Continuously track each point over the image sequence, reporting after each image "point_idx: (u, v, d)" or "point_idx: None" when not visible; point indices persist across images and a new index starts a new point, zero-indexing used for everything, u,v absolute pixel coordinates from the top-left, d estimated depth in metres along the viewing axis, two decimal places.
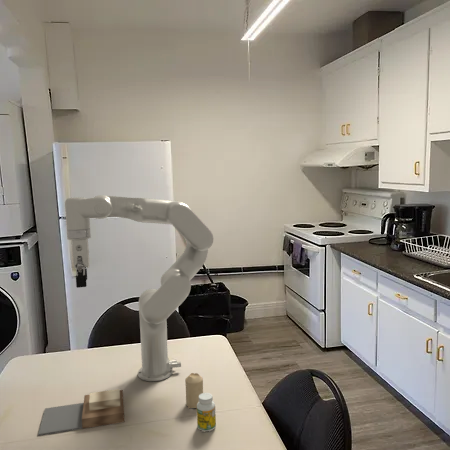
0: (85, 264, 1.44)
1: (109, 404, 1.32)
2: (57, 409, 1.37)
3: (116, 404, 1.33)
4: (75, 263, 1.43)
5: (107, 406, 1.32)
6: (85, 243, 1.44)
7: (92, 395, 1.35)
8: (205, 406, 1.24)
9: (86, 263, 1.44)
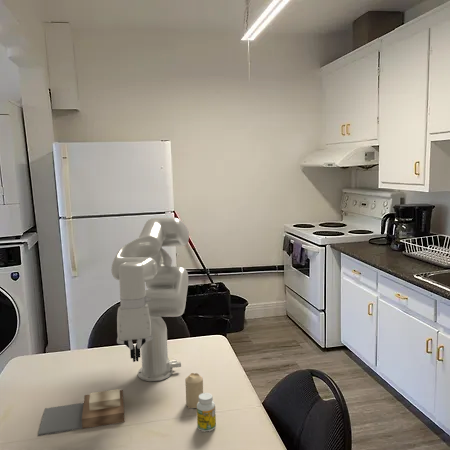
0: None
1: (109, 404, 1.32)
2: (57, 409, 1.37)
3: (116, 404, 1.33)
4: (146, 337, 1.34)
5: (107, 406, 1.32)
6: None
7: (92, 395, 1.35)
8: (205, 406, 1.24)
9: None
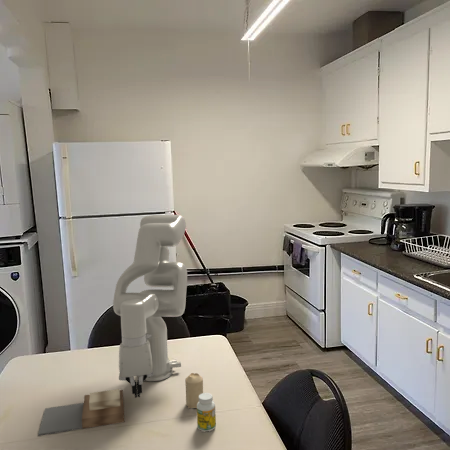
0: None
1: (109, 404, 1.32)
2: (57, 409, 1.37)
3: (116, 404, 1.33)
4: None
5: (107, 406, 1.32)
6: None
7: (92, 395, 1.35)
8: (205, 406, 1.24)
9: None
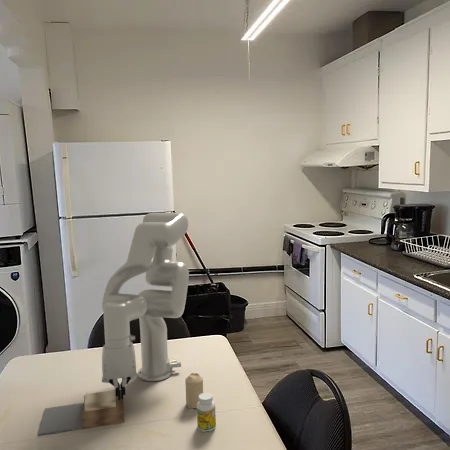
0: None
1: (104, 405, 1.32)
2: (57, 409, 1.37)
3: (112, 405, 1.32)
4: None
5: (102, 407, 1.32)
6: None
7: (87, 396, 1.35)
8: (205, 406, 1.24)
9: None
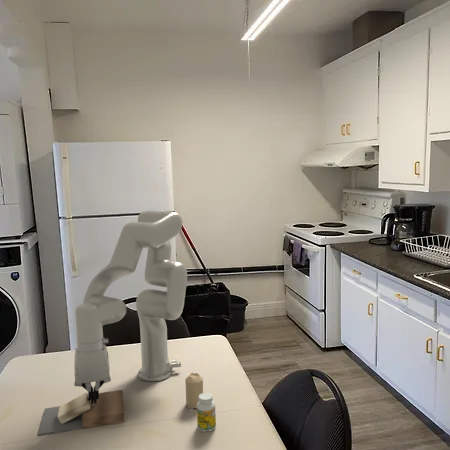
0: (109, 369, 1.36)
1: (78, 411, 1.30)
2: (57, 409, 1.37)
3: (85, 408, 1.30)
4: None
5: (77, 414, 1.30)
6: None
7: (61, 408, 1.32)
8: (205, 406, 1.24)
9: (109, 368, 1.36)
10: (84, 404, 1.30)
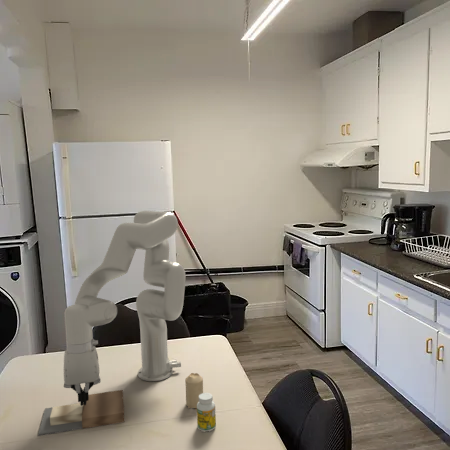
0: None
1: (70, 419, 1.29)
2: None
3: (78, 419, 1.30)
4: None
5: (69, 421, 1.29)
6: None
7: (54, 409, 1.32)
8: (205, 406, 1.24)
9: None
10: (79, 414, 1.30)
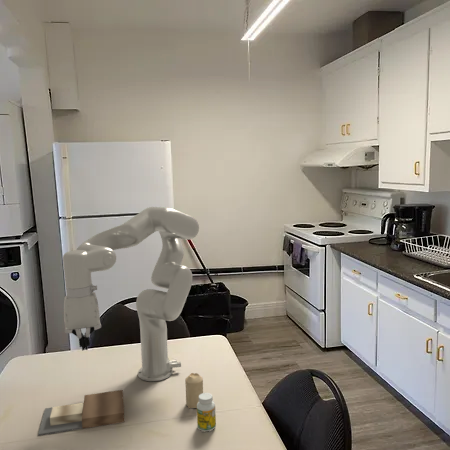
0: (99, 317, 1.36)
1: (70, 419, 1.29)
2: None
3: (78, 419, 1.30)
4: (94, 325, 1.33)
5: (69, 421, 1.29)
6: None
7: (54, 409, 1.32)
8: (205, 406, 1.24)
9: (99, 315, 1.36)
10: (79, 414, 1.30)
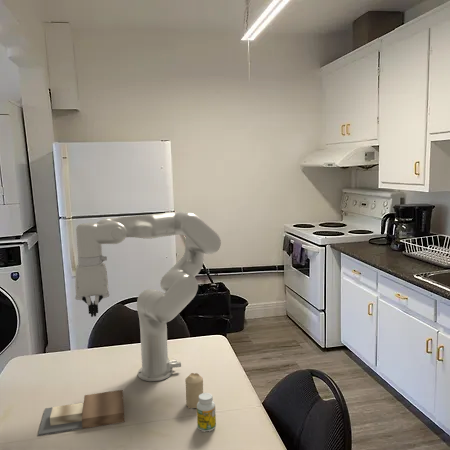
0: None
1: (70, 419, 1.29)
2: None
3: (78, 419, 1.30)
4: None
5: (69, 421, 1.29)
6: None
7: (54, 409, 1.32)
8: (205, 406, 1.24)
9: None
10: (79, 414, 1.30)
